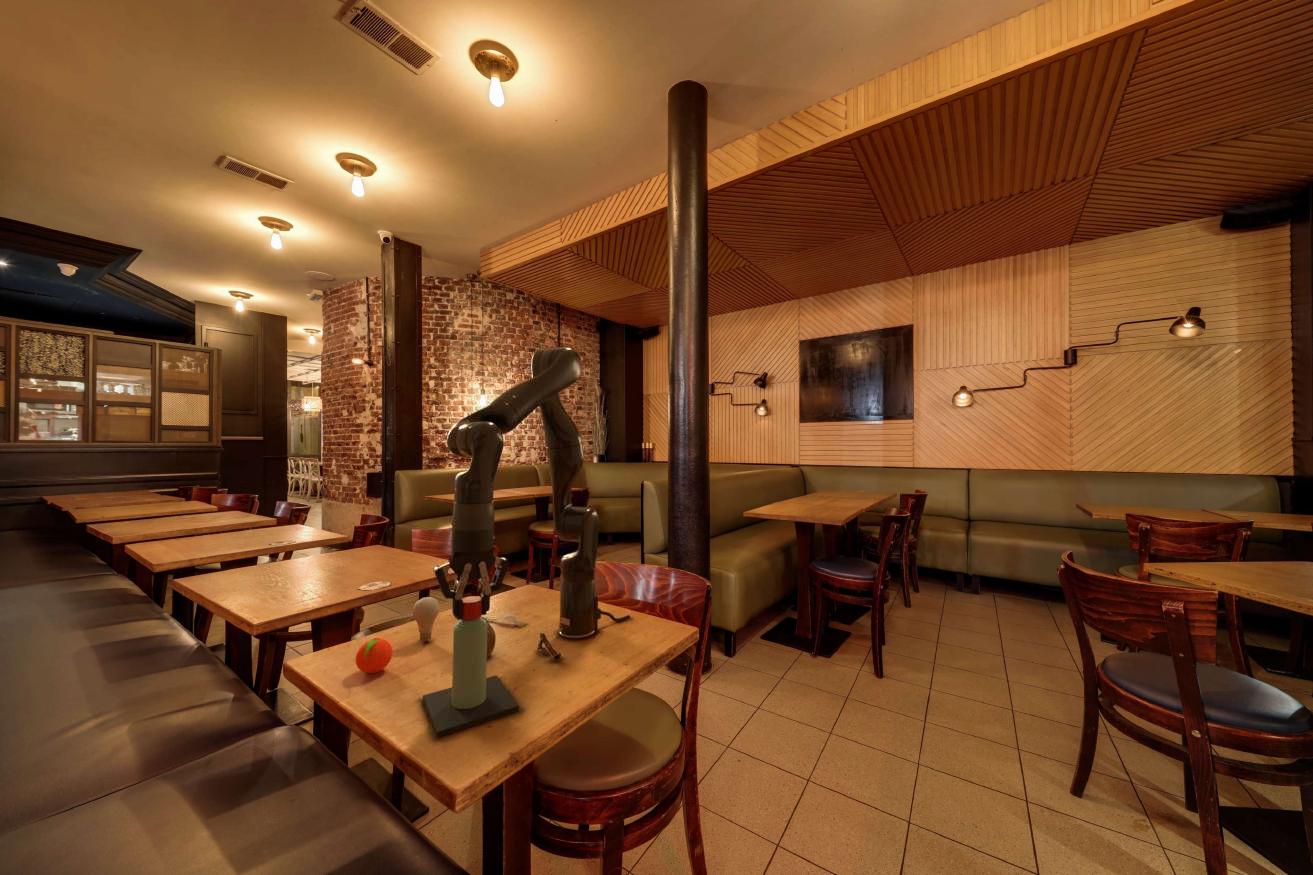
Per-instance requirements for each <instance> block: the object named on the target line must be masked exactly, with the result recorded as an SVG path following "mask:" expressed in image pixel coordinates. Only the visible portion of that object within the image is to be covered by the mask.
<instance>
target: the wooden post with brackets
mask: <svg viewBox="0 0 1313 875" xmlns="http://www.w3.org/2000/svg"><path fill="white" fill-rule="evenodd" d="M543 644H544V646H543ZM537 650H538V651H539V650H540V653H542V655H543V656H544V655H545V656H547V655H548V651H549V653H550V655H551V656H552V663H555V662H557V661H559V660H560V659H561V656H562V653H561V652H557V651H556V650H555V648H554V647H553V645H552V643H551V642H550V640H548V639H547V636H546V634H545V633H544V632H540V633H539V643H538V644H537Z"/></svg>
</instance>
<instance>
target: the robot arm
mask: <svg viewBox="0 0 1313 875" xmlns="http://www.w3.org/2000/svg"><path fill="white" fill-rule="evenodd" d="M580 356H581V355H580V354H579V353H578V351H576V350H575V349H573V348H571V347H564V346H562V347H547V348H546V347H544V348H538V349H536V350H535V351H534V352H533V354H532V357H531V361H530V366H531V367H530V368H531V376H532V378H529V379H527V380H524V381H522V382H519V383H517V384H516V385H513V386H511V387H510V388H508V389H506V390H505V391H503V392H502V393H500V395H498V396H497V397H496V398H495V399H493V400H492V401H491V402H490V403H489V404H488V405H486V406H485V407H483V408H481V409H478V410H476V411H474V412H472V413H470V414H468V415H467V416H465V417H463V418H462V419H460V420H458V421H456V423H455V424H454V425H452V427H451V428H450V429H449V432H447V437H446V447H447V448H448V451H449V452H450V453H451V454H452V455H454V456H456V457H458V458H462V459H471V461H470V464H469V467H468V469H466V470H463V471H460V472H458V473H457V474H456V475H455V478H454V490H453V493H454V494H453V509H452V517H451V523H450V524H451V550H450V552H451V554H450V557H449V559H448V561H447V562H446V563H444V564H441V565H435V566H433V568H432V571H433V573H434V576H435V578H436V582H437V583H438V587H439V589H440V591H441V593H442V594H441V595H443V597H444V598H445V599H451V600H452V610H451V611H452V615H453V617H454V618H455V619H457V621H460V620H461V619H462V611H463V600H462V599H463V594H464V591H465V588H466V586H467V583H468V581H469V582H470V581H472V580H478V583H479V586H480V590H481V593H479V597H481V598H482V616H485V615H487V612H489V611H490V608H491V595H492V593H494V592H495V591H499V590H500V589H501V587H502V584H503V582H504V579H505V577H506V573H507V571H508V568H509V565H510V560H508V558H505V557H498V556H497V555H496V554H495V551H494V550H495V549H494V548H495V507H494V506H495V505H494V484H495V483H494V482H495V478H496V475H497V471H498V468H499V464H500V461H501V458H502V455H503V449H504V435H505V434H509V433H510V432H512V431H513V430H514V429H516V428H517V427H518V426H519V425H520V424H521V423H522V422H523V421H524V420H525V419H526V418H527V417H528V416H529V415H531V414H532V413H533V412H534V411H535V410H536V409H537V408H539V410H540V415H541V421H542V427H543V433H544V442H545V450H546V451H545V452H546V457H547V463H548V469H549V475H550V482H551V491H552V511H553V512H552V513H553V527H554V531H555V535H556V537H557V538H558V540H560V541H563V542H573V543H578V549H577V550H576V551H573V552H569V553H567V554H564V555H563V556H562V557H561V558H560V578H559V579H560V582H559V584H560V585H559V586H560V587H559V625H558V626H559V629H558V634H559V635H560V637H562V638H565V639H570V640H579V639H585V638H589V637H591V636H593V635H594V634H595V633H598V632H599V629H598V627H599V620H601V619H602V616H607V617H609V618H610V619H611V620H612V621H614V622H617V623H619V622H620V623H621V622H623V621H626V620H628V619H631V615H630V614H628V615H625V616H623V617H619V618H618V617H617V618H616V617H615V616H614V615H613V614H612V613H611V612H608V611H604V610H602V609H601V608H600V607H599V596H598V595H597V594H596V563H597V562H596V561H597V555H598V542H599V528H600V527H599V525H600V523H599V520H600V519H599V514H598V512H597V510H596V509H595V508H593V507H587V506H573V504H572V488H573V486H574V484H575V482H576V479H577V477H578V476H579V473H580V471H581V469H582V468H583V465H584V462H585V453H584V444H583V438H582V433H581V432H580V429H579V428H578V426H577V425H576V423H575V421H574V420H573V419H572V417H571V416H570V414H569V413H568V412H567V411H566V410H567V409H565V407H564V405H563V403H562V399H561V396H560V393H561V392H562V391H564V390H565V389H568V388H569V387H571V386H572V385H574V384H575V383H577V381H578V380H579V378H580V377H581V374H582V370H583V365H582V359H581V357H580ZM493 565H494V567H495V568H496V569H495V571H494V574H493V576H492V581H490V577H489V572H490V569H491V568H492V567H493ZM450 569H451V570H452V572H453V573H454V574H455V580H454V585H453V589H451V588H450V585H449V583H448V580H447V578H446V577H448V576H449V570H450Z"/></svg>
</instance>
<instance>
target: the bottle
mask: <svg viewBox="0 0 1313 875" xmlns="http://www.w3.org/2000/svg"><path fill="white" fill-rule="evenodd" d="M487 622H488V621H487ZM487 622H486V621H485V620H484V619H483V618H482V617H480V618H478V619H475V620H461V619H460V620H458V621H457V622H456V623H455V624H454V626H453V633H452V634H453V636H452V637H453V638H452V673H451V674H452V676H451V687H452V706H453V707H455V708H458V709H468V708H473V707H476V706H478V705H480V704H481V703H483V702H484V701H485V699H486V678H487V663H488V662H487V660H488V659H487V658H488V657H487Z"/></svg>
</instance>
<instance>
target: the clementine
mask: <svg viewBox="0 0 1313 875" xmlns="http://www.w3.org/2000/svg"><path fill="white" fill-rule="evenodd" d="M393 653H394V651H393V646H392V644H391V643H390V641H388V640H387V639H385V638H382V637H375V638H370V639H368V640H367V641H365V642H364V643H363V644H361V645H360V647H359V648H358V650H357V652H356V655H355V665H356V667H357V669H359V670H360V671H361V672H362V673H365V674H375V673H379V672H381V671H383V669H384V668H387V666H388V665H389V663H390V662H391V660H392V657H393Z"/></svg>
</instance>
